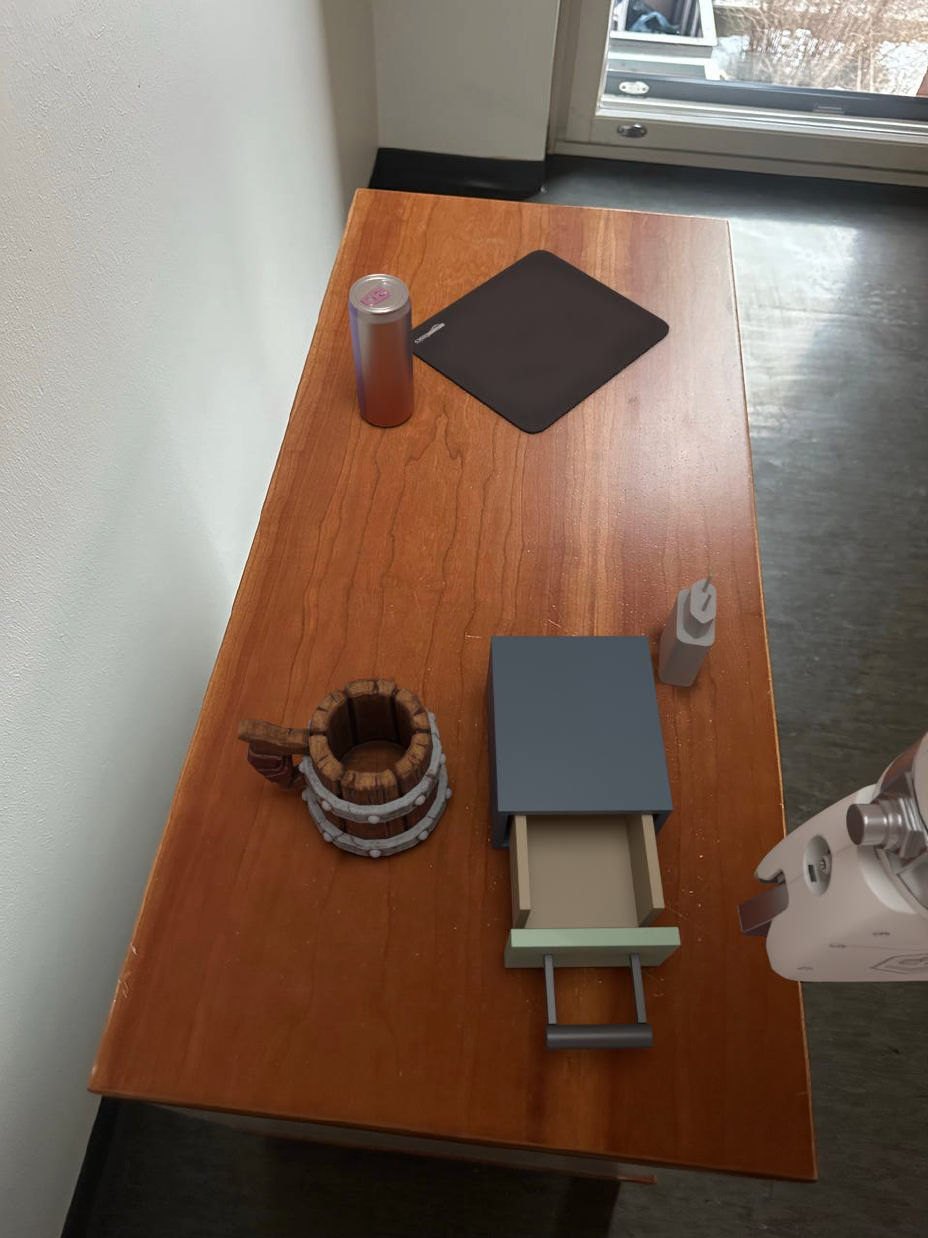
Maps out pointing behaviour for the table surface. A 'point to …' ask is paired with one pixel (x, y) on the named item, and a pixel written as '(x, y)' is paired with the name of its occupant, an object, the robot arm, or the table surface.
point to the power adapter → (688, 634)
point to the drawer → (587, 911)
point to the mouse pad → (536, 339)
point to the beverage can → (382, 348)
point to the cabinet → (573, 729)
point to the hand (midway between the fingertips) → (807, 950)
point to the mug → (360, 766)
